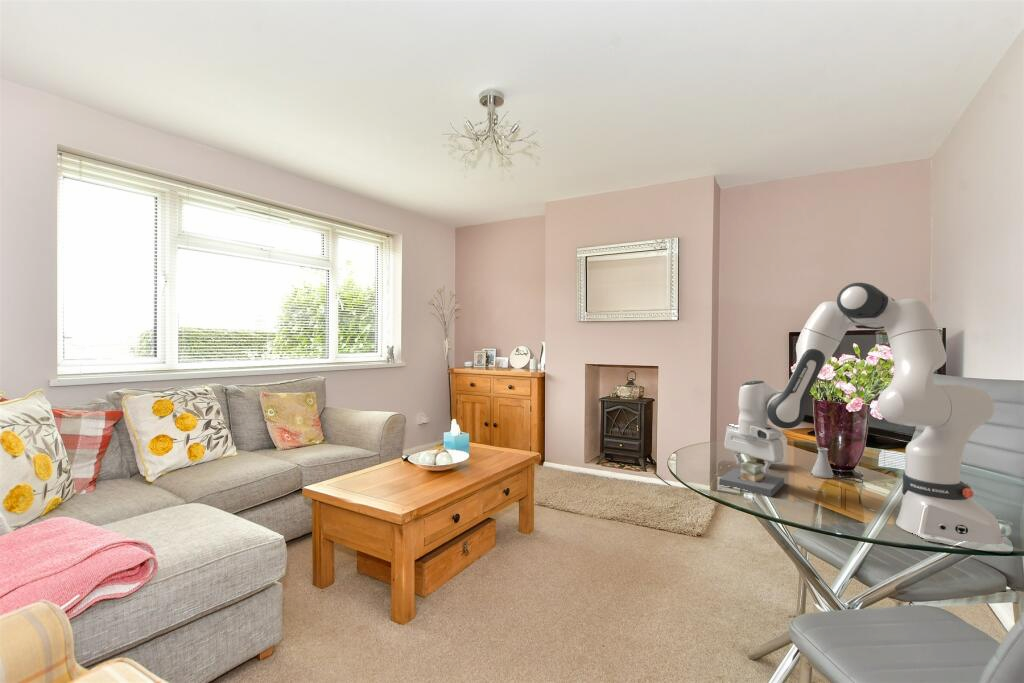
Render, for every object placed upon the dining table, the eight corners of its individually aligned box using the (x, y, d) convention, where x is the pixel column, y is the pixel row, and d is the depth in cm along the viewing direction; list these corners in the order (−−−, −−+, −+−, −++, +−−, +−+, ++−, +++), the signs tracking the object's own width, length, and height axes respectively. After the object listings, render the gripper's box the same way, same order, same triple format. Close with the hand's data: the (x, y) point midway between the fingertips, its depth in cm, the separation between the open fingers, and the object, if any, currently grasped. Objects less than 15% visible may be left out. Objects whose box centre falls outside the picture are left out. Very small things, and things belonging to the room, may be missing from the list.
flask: (809, 471, 176) (810, 444, 176) (833, 474, 173) (834, 447, 172) (810, 477, 170) (811, 449, 170) (835, 480, 166) (836, 452, 166)
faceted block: (763, 481, 162) (763, 464, 162) (754, 484, 159) (754, 467, 159) (749, 477, 166) (749, 460, 166) (740, 480, 164) (740, 463, 163)
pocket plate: (784, 484, 164) (784, 477, 163) (771, 497, 152) (771, 489, 152) (735, 474, 174) (735, 467, 174) (719, 485, 163) (719, 478, 163)
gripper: (720, 423, 170) (720, 462, 171) (774, 435, 152) (773, 478, 152) (732, 421, 173) (732, 459, 173) (786, 433, 154) (786, 475, 155)
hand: (752, 468), depth 163 cm, fingers open, 8 cm apart
